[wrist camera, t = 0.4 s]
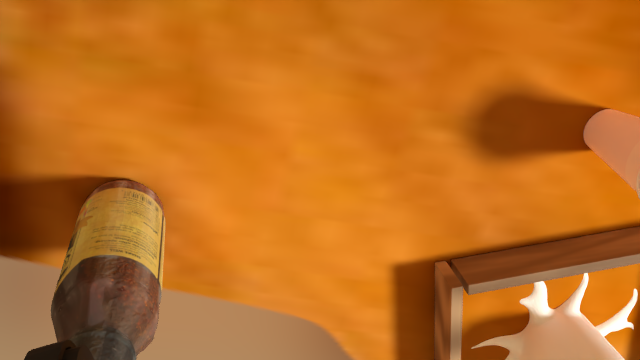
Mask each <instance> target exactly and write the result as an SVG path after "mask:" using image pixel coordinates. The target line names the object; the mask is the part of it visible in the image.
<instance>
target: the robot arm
mask: <svg viewBox="0 0 640 360" xmlns="http://www.w3.org/2000/svg"><path fill="white" fill-rule="evenodd" d="M24 360H94V358H93V356H92V354H91V352H90V350H89V349H88V347H87V346H85V345H81V346H78V347H76V345H75V344H74V343H73V342H72V341H71V340H64V341H60V342H57V343H53V344H50V345H46V346H43V347H40V348H36V349H33V350H31V351H29V352H28V353H27V355H26V357H25V359H24Z"/></svg>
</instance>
